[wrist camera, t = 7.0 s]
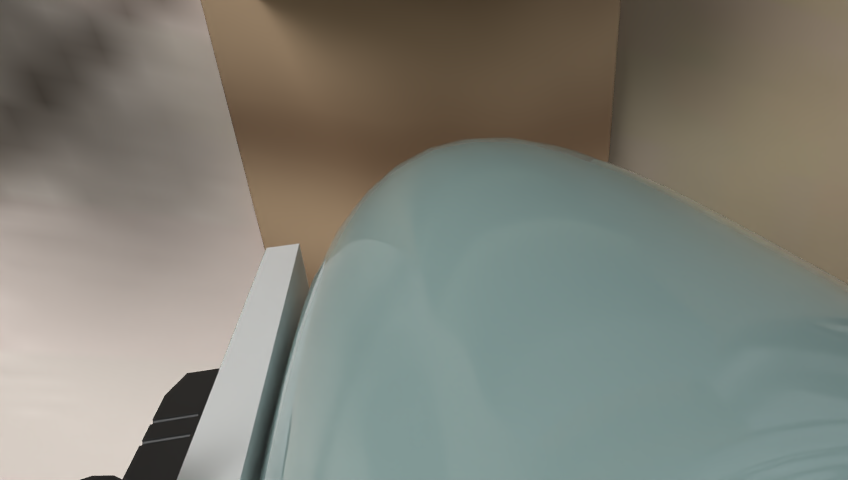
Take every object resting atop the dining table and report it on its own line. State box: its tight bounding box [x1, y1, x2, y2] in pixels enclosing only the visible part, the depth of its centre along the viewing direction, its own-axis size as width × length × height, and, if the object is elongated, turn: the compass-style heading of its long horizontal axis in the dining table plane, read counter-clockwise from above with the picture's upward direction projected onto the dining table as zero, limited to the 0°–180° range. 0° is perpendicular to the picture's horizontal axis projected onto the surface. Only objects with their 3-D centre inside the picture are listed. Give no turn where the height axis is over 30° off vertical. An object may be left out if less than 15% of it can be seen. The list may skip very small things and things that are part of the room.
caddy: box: [201, 0, 621, 289], centre depth 13 cm, size 28×12×9 cm, turn 5°
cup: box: [259, 137, 848, 480], centre depth 8 cm, size 8×8×10 cm
